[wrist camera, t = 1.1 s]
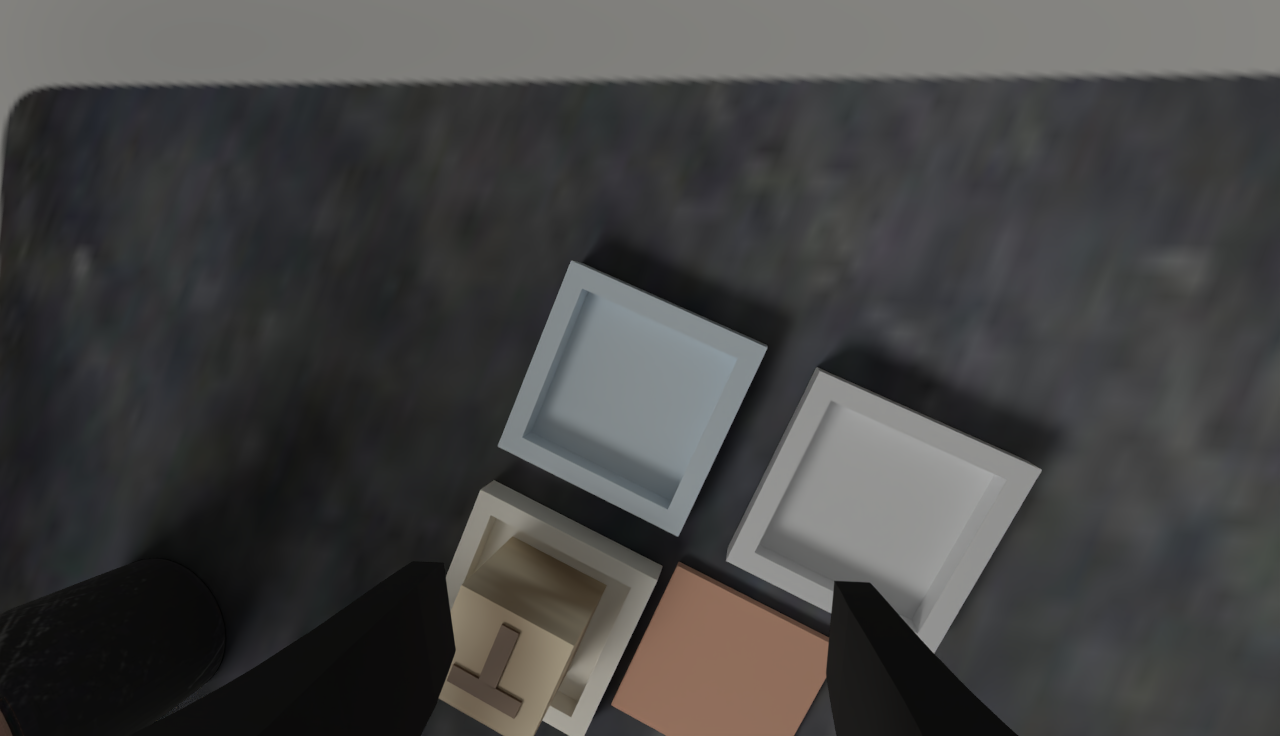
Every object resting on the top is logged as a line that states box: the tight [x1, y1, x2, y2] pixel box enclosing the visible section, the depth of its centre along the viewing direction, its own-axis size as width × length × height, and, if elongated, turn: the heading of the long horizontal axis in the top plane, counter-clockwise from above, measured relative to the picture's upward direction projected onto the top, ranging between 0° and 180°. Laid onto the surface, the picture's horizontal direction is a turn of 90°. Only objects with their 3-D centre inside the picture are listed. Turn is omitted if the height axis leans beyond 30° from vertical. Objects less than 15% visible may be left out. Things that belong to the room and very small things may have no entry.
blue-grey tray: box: [498, 260, 768, 537], centre depth 24 cm, size 8×8×1 cm
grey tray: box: [726, 367, 1042, 653], centre depth 22 cm, size 8×8×1 cm
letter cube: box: [439, 536, 607, 736], centre depth 24 cm, size 4×4×5 cm
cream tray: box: [446, 480, 663, 736], centre depth 26 cm, size 8×8×1 cm
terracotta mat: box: [611, 562, 829, 736], centre depth 25 cm, size 7×7×1 cm
